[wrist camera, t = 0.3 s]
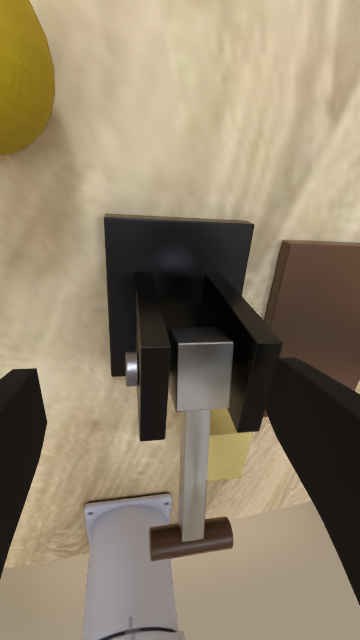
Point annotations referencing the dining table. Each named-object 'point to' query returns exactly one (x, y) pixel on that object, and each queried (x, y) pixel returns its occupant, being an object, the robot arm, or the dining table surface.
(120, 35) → the dining table surface
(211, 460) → the butter
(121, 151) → the dining table surface
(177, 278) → the slicer
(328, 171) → the dining table surface
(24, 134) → the lemon
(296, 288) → the board
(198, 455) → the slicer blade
